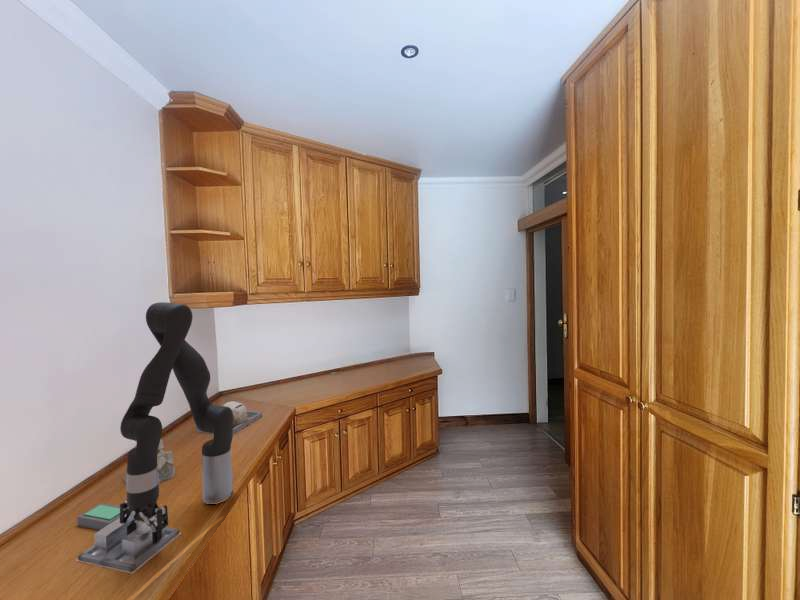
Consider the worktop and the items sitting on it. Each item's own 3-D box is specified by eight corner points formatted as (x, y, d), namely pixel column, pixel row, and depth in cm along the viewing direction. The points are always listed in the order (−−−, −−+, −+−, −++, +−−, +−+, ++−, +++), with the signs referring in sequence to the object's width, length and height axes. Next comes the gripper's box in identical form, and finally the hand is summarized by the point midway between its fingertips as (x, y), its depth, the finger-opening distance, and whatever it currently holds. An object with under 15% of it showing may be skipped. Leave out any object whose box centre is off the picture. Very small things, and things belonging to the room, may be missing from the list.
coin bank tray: (231, 413, 216) (231, 409, 216) (262, 416, 212) (262, 412, 211) (196, 432, 190) (196, 427, 190) (230, 436, 185) (230, 431, 185)
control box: (101, 514, 123) (101, 502, 123) (132, 520, 120) (131, 508, 120) (77, 529, 116) (77, 516, 116) (109, 535, 113) (109, 523, 113)
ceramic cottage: (122, 474, 148) (123, 438, 147) (169, 463, 159) (171, 429, 158) (127, 494, 136) (128, 455, 135) (178, 480, 147) (180, 443, 146)
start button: (100, 509, 122) (100, 504, 121) (125, 513, 119) (125, 509, 119) (84, 518, 117) (84, 514, 117) (110, 523, 114) (110, 519, 114)
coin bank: (215, 421, 205) (216, 397, 204) (248, 421, 210) (250, 397, 209) (208, 433, 190) (210, 407, 189) (245, 432, 194) (247, 407, 194)
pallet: (130, 526, 117) (130, 519, 117) (181, 536, 113) (181, 529, 113) (76, 564, 102) (75, 556, 102) (132, 577, 98) (132, 569, 97)
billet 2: (122, 560, 102) (121, 539, 102) (154, 535, 112) (154, 516, 111) (134, 563, 101) (133, 541, 101) (165, 538, 111) (165, 518, 110)
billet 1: (128, 530, 114) (127, 511, 113) (139, 533, 113) (138, 513, 112) (95, 554, 104) (94, 533, 104) (106, 556, 103) (105, 536, 103)
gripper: (174, 480, 107) (176, 535, 108) (134, 474, 110) (136, 527, 111) (152, 495, 100) (153, 553, 101) (109, 488, 103) (111, 544, 104)
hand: (144, 539), depth 106 cm, fingers open, 8 cm apart
